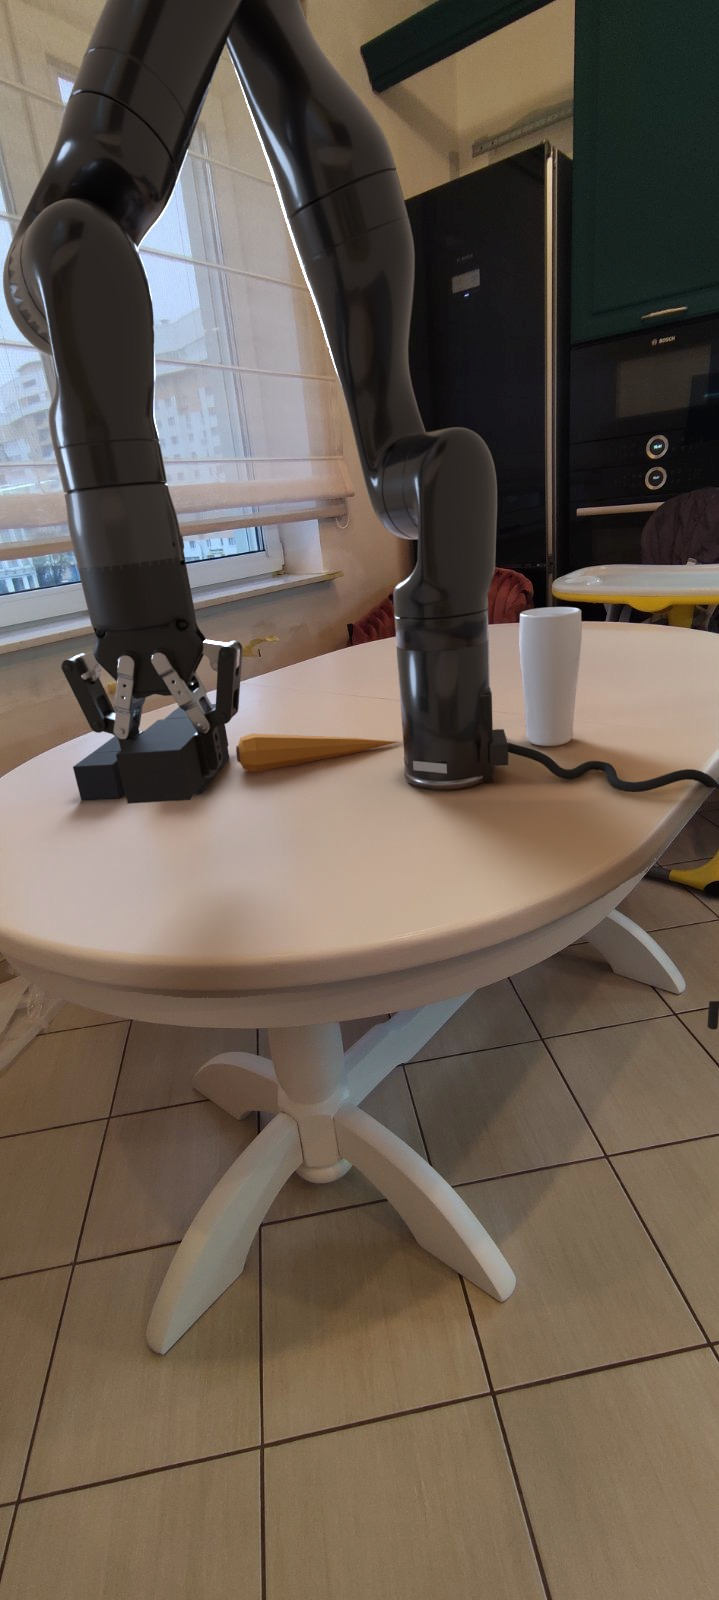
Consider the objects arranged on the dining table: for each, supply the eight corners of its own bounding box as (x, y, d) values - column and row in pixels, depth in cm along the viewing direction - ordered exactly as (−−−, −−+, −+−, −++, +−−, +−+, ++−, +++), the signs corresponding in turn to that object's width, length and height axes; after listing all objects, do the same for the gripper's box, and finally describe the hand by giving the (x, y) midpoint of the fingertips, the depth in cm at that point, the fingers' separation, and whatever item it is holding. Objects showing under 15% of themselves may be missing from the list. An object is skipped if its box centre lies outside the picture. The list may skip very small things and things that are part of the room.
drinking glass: (581, 749, 82) (584, 613, 76) (519, 750, 83) (518, 617, 78) (576, 731, 88) (579, 605, 82) (519, 732, 89) (518, 608, 84)
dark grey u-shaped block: (229, 758, 90) (224, 727, 89) (201, 794, 79) (194, 759, 78) (123, 764, 92) (116, 734, 91) (80, 800, 81) (72, 766, 80)
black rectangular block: (234, 745, 66) (226, 702, 65) (190, 800, 54) (180, 749, 53) (181, 748, 67) (173, 706, 65) (127, 803, 55) (115, 754, 53)
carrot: (239, 781, 84) (240, 750, 81) (234, 756, 87) (234, 726, 84) (402, 767, 90) (407, 738, 87) (391, 745, 93) (396, 716, 90)
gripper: (10, 571, 50) (73, 799, 56) (212, 550, 48) (252, 788, 54) (62, 562, 57) (112, 766, 63) (240, 543, 55) (273, 755, 61)
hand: (177, 775), depth 59 cm, fingers closed on black rectangular block, 5 cm apart
